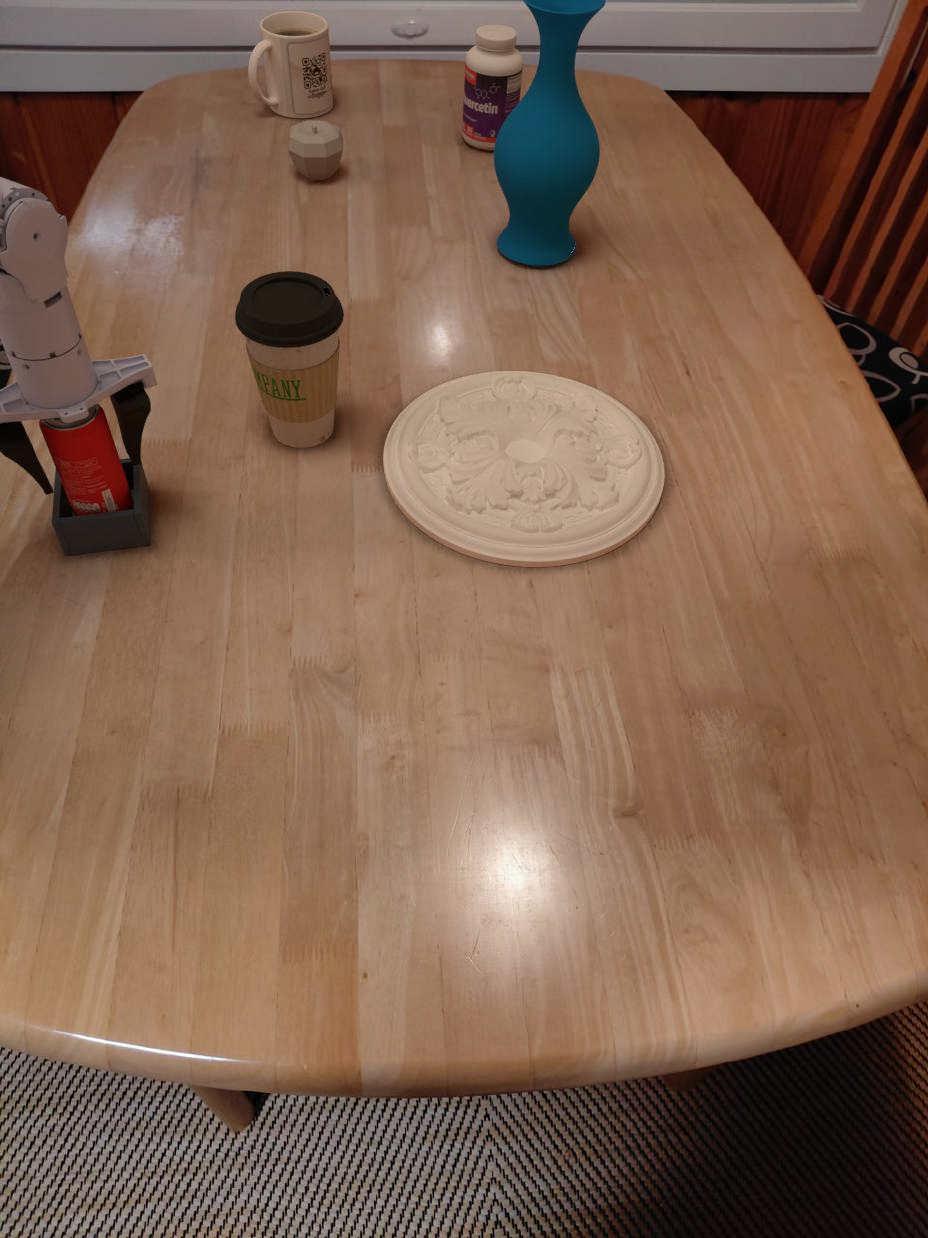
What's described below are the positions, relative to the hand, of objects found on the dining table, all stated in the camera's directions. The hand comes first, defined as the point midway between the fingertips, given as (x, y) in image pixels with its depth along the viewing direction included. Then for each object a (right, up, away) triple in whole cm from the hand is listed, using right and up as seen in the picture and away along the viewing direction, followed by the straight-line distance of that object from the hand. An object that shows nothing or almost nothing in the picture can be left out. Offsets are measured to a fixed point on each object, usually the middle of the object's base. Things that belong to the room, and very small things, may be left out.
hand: (91, 472), depth 81 cm
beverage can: (0, -3, +4) cm, 6 cm away
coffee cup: (+16, +7, +14) cm, 22 cm away
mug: (+7, +65, +61) cm, 89 cm away
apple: (+12, +48, +48) cm, 69 cm away
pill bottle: (+36, +57, +56) cm, 88 cm away
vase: (+42, +34, +38) cm, 66 cm away
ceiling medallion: (+38, +3, +12) cm, 40 cm away
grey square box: (0, -4, +5) cm, 6 cm away
